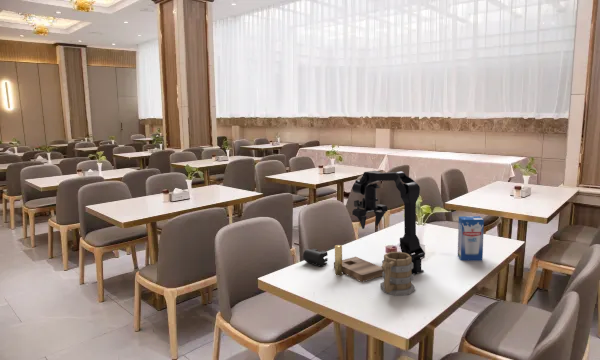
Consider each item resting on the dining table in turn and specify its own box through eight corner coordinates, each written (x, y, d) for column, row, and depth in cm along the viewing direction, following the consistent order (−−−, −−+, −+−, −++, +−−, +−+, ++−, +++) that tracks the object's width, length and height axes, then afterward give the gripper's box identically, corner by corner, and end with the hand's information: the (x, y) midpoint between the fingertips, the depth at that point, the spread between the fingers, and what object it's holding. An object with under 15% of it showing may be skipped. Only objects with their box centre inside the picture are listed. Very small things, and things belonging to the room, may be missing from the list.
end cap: (303, 263, 206) (302, 250, 205) (312, 260, 211) (312, 246, 210) (318, 268, 199) (318, 254, 198) (328, 264, 204) (328, 250, 203)
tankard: (390, 280, 183) (390, 246, 180) (418, 287, 175) (419, 251, 172) (366, 296, 167) (366, 259, 165) (396, 304, 159) (396, 266, 157)
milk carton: (478, 256, 209) (479, 216, 206) (482, 260, 203) (484, 219, 200) (457, 256, 210) (458, 216, 207) (460, 260, 204) (462, 219, 201)
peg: (343, 274, 191) (343, 246, 189) (338, 276, 189) (337, 247, 187) (339, 272, 194) (339, 244, 192) (333, 273, 192) (333, 245, 190)
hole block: (384, 275, 189) (384, 268, 188) (362, 281, 182) (362, 275, 181) (355, 262, 205) (355, 256, 205) (334, 268, 199) (333, 262, 198)
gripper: (372, 191, 222) (372, 220, 225) (345, 196, 212) (345, 226, 215) (388, 195, 213) (388, 225, 216) (360, 200, 203) (360, 231, 206)
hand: (370, 227), depth 213 cm, fingers open, 9 cm apart
